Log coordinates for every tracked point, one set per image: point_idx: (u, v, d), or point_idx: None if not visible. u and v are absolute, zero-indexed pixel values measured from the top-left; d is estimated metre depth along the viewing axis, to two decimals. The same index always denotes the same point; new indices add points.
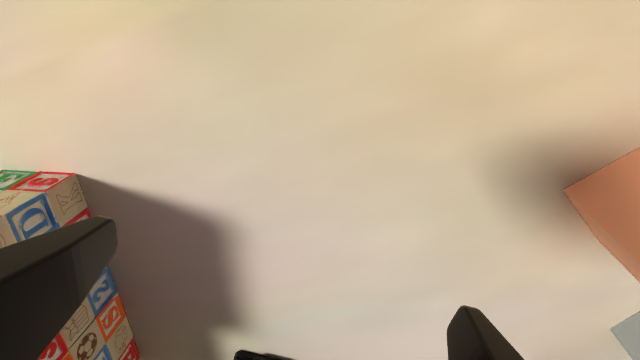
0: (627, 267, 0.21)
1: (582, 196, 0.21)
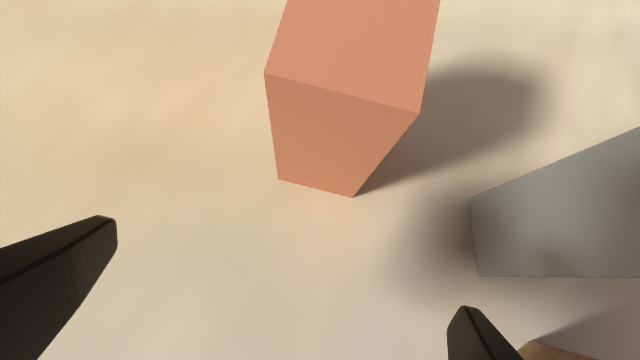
0: (348, 180, 0.19)
1: None
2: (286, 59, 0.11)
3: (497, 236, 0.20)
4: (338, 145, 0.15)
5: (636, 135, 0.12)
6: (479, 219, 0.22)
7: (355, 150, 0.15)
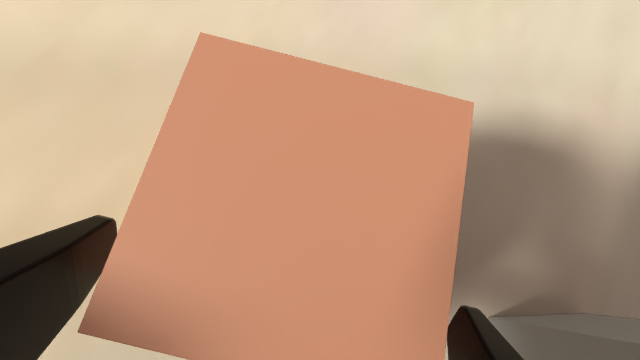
0: None
1: None
2: (135, 291, 0.05)
3: None
4: None
5: None
6: None
7: None
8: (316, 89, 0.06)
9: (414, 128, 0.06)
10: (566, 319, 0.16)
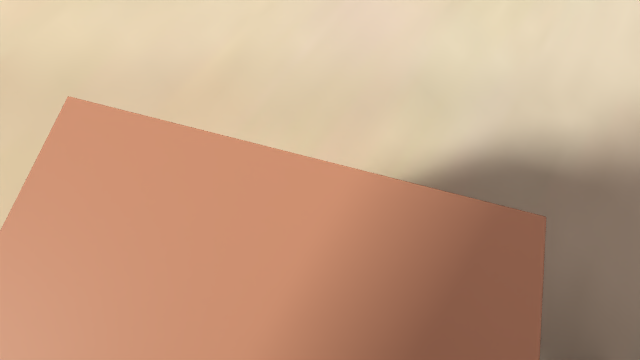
0: None
1: None
2: None
3: None
4: None
5: None
6: None
7: None
8: (270, 200, 0.03)
9: (445, 271, 0.03)
10: None
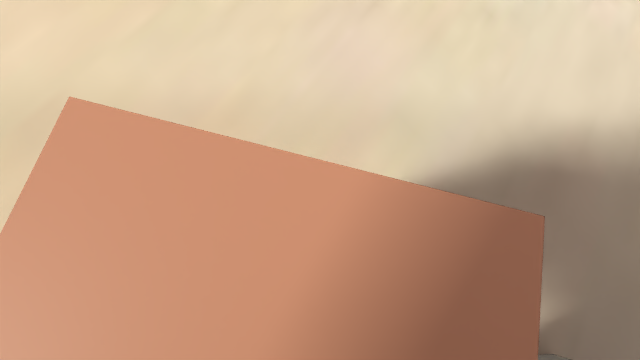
0: None
1: None
2: None
3: None
4: None
5: None
6: None
7: None
8: (270, 200, 0.03)
9: (443, 271, 0.03)
10: None
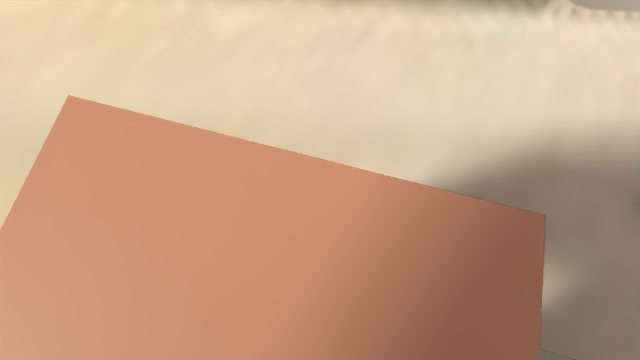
0: None
1: None
2: None
3: None
4: None
5: None
6: None
7: None
8: (270, 199, 0.03)
9: (444, 271, 0.03)
10: None
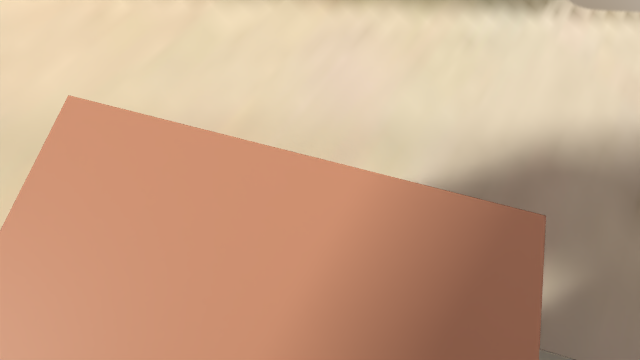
0: None
1: None
2: None
3: None
4: None
5: None
6: None
7: None
8: (270, 199, 0.03)
9: (444, 271, 0.03)
10: None
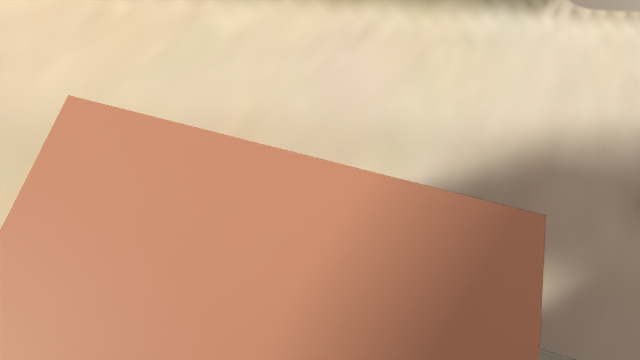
0: None
1: None
2: None
3: None
4: None
5: None
6: None
7: None
8: (269, 199, 0.03)
9: (444, 271, 0.03)
10: None
